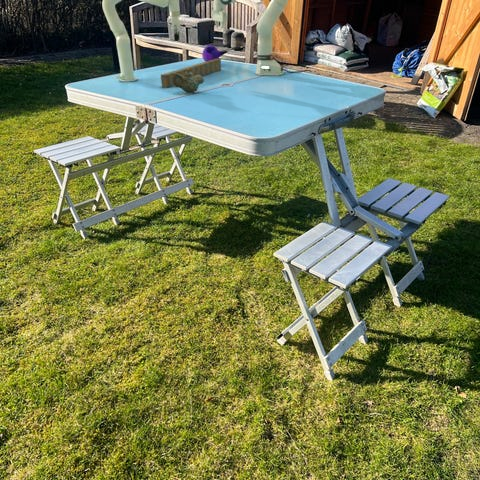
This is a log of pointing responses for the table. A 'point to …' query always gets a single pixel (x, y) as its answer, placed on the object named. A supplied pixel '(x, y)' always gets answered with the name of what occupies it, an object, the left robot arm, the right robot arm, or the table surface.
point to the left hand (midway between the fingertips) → (176, 39)
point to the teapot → (188, 81)
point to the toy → (212, 53)
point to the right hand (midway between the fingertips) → (219, 27)
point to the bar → (195, 69)
